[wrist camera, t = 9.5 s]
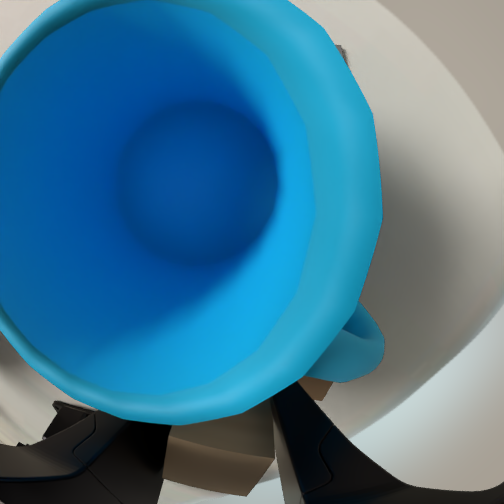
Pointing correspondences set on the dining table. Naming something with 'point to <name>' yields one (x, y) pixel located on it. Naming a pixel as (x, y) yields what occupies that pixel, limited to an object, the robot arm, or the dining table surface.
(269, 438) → the wooden t-shaped block
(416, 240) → the dining table surface
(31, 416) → the dining table surface
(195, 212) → the mug
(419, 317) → the dining table surface
